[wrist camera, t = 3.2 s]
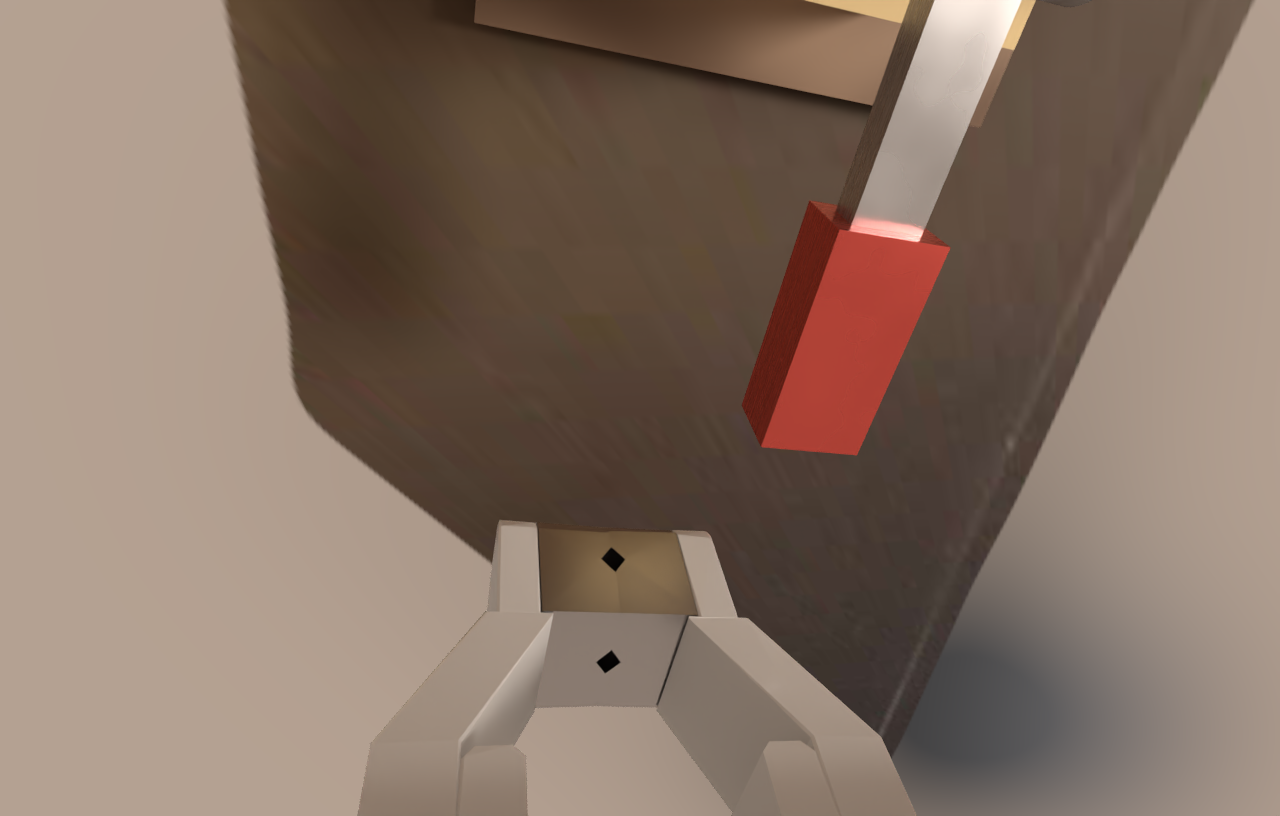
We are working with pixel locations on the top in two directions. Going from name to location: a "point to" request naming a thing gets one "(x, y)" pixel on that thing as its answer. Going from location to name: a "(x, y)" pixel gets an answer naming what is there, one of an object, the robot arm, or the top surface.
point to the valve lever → (874, 238)
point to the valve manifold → (746, 37)
